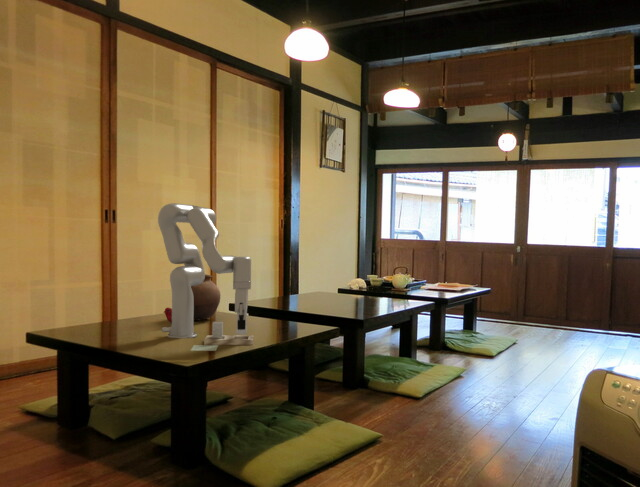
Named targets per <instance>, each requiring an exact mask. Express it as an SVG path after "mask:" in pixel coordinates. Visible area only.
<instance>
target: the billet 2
mask: <svg viewBox="0 0 640 487" xmlns="http://www.w3.org/2000/svg"><path fill="white" fill-rule="evenodd" d="M239 313H240V312H239ZM243 313H244V312H243ZM247 321H248V311H246V313H245V330H238V312H237V313H236V335H247V333H248V331H247V330H248V322H247Z"/></svg>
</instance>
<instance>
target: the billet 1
mask: <svg viewBox="0 0 640 487" xmlns="http://www.w3.org/2000/svg"><path fill="white" fill-rule="evenodd" d="M211 327H212V328H211V329H212V333H211V334H212V339H223V335H224V321H212V326H211Z"/></svg>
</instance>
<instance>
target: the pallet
mask: <svg viewBox="0 0 640 487" xmlns="http://www.w3.org/2000/svg"><path fill="white" fill-rule="evenodd" d="M253 344H254V335H253V334H252V335H247V334H234V335H228V334H227V335H225V334H223V339H212V335H206V337H205V338H204V339H203V345H218V346H221V345H222V346H225V345H227V346H230V345H231V346H234V345H237V346H240V345H243V346H245V345H247V346H248V345H250V346H252V345H253Z"/></svg>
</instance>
